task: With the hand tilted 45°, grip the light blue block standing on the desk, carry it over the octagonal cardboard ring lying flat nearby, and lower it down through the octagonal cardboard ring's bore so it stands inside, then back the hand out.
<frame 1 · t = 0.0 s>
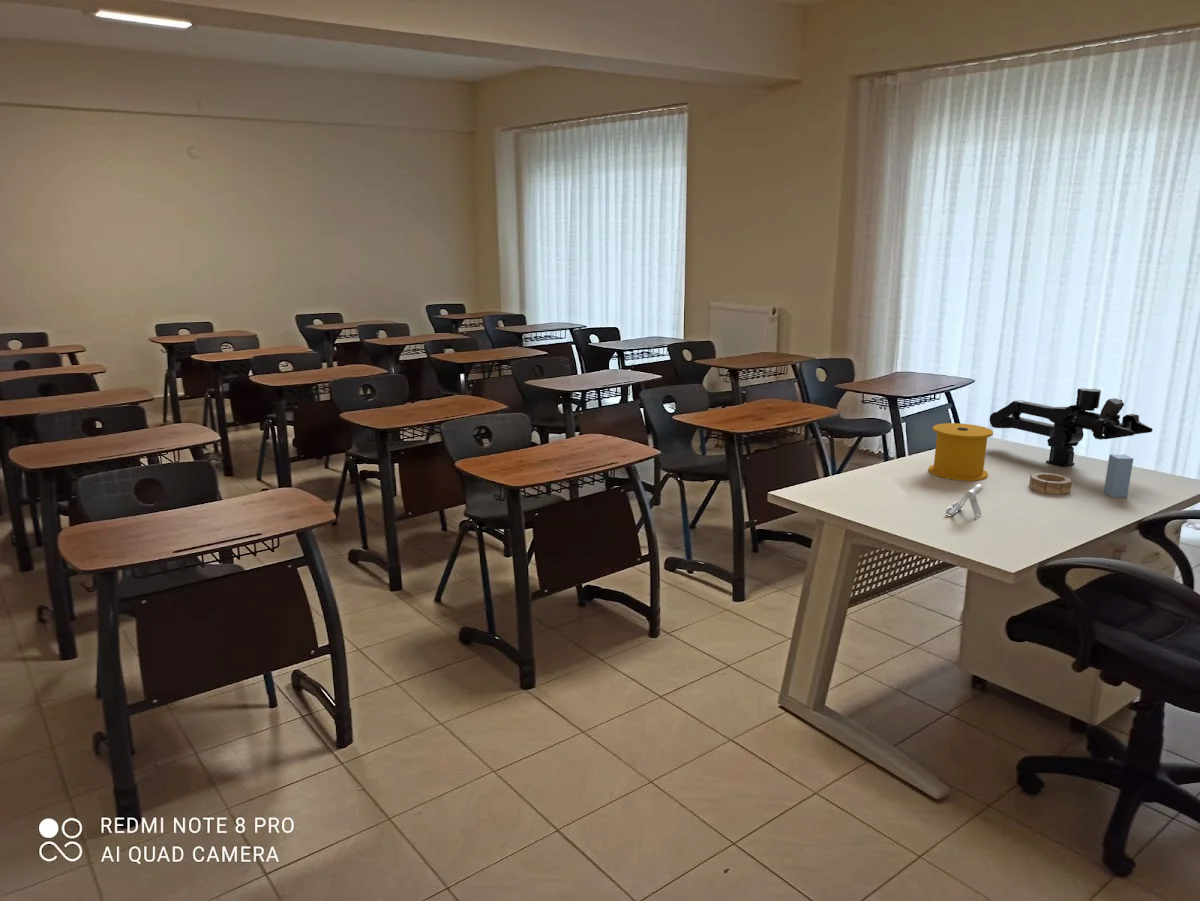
hand: (1143, 432, 261), 17 cm above the table, tool horizontal, fingers open, 9 cm apart
octagonal cardboard ring: (1049, 488, 260), on the table
spool: (957, 473, 276), on the table
light blue block: (1115, 494, 254), on the table
portable electronic device stand: (964, 515, 237), on the table
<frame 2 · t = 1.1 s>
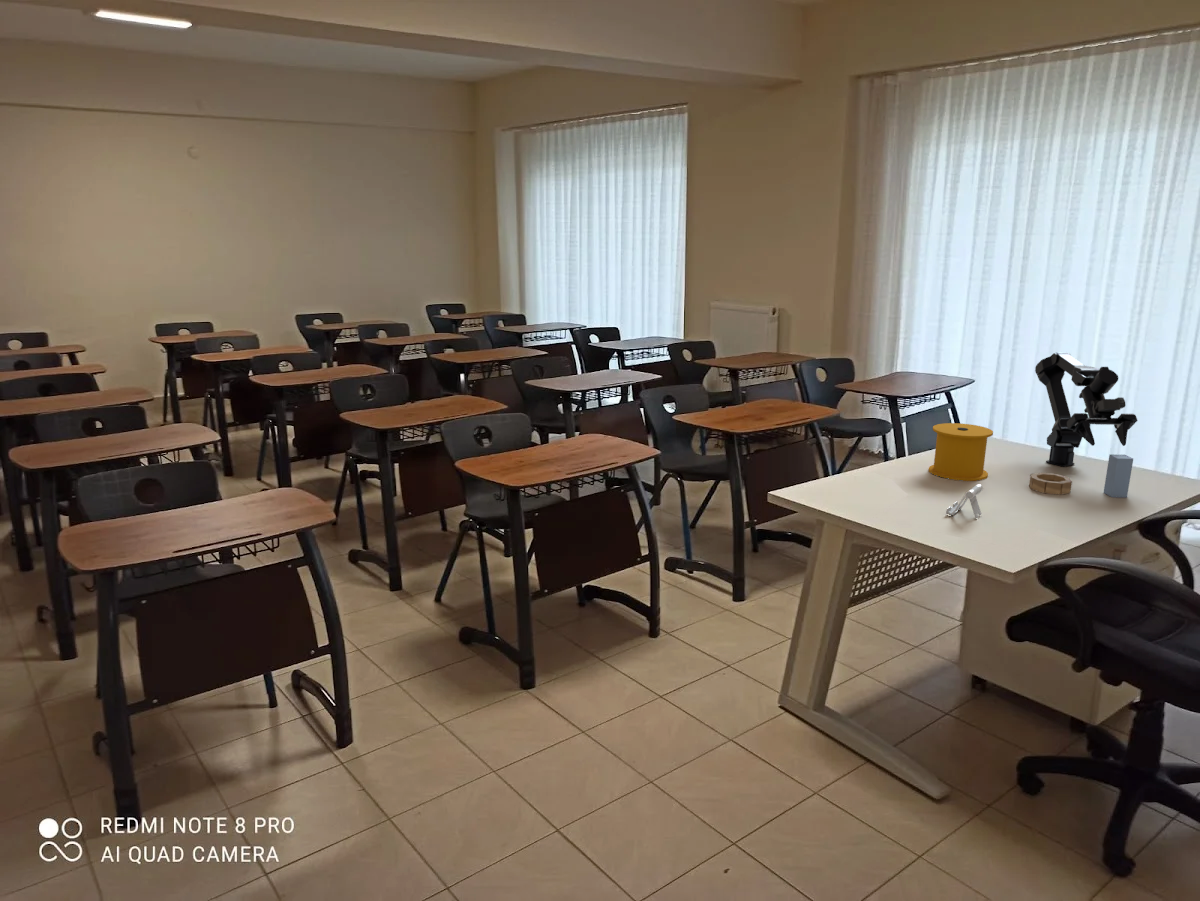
hand: (1109, 445, 257), 14 cm above the table, tool tilted 45°, fingers open, 9 cm apart
nothing on the table moved.
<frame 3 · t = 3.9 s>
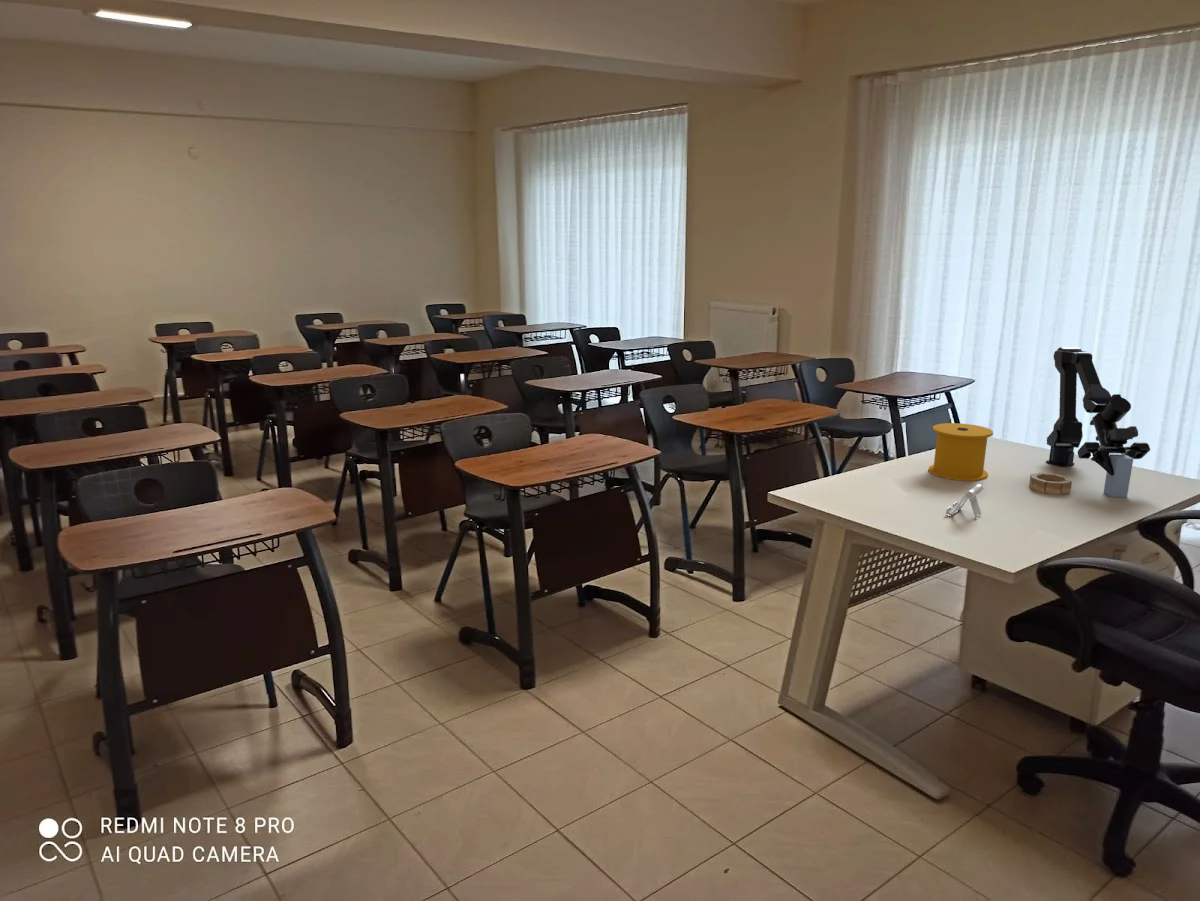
hand: (1121, 475, 251), 7 cm above the table, tool tilted 45°, fingers closed on light blue block, 4 cm apart
light blue block: (1115, 494, 254), on the table, touching gripper
everything else where it was.
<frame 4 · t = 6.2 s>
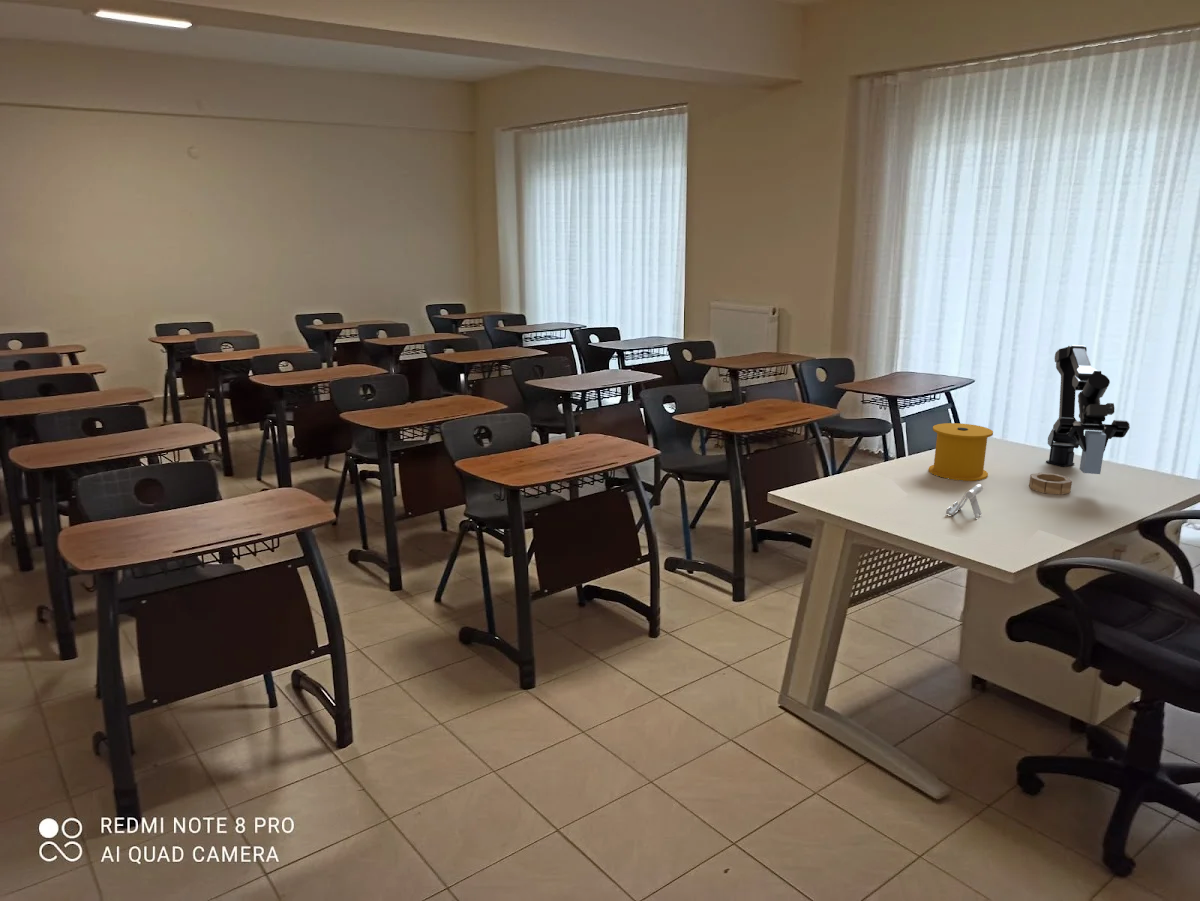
hand: (1094, 451, 251), 13 cm above the table, tool tilted 45°, fingers closed on light blue block, 4 cm apart
light blue block: (1089, 471, 253), point 7 cm above the table, touching gripper
everything else where it was.
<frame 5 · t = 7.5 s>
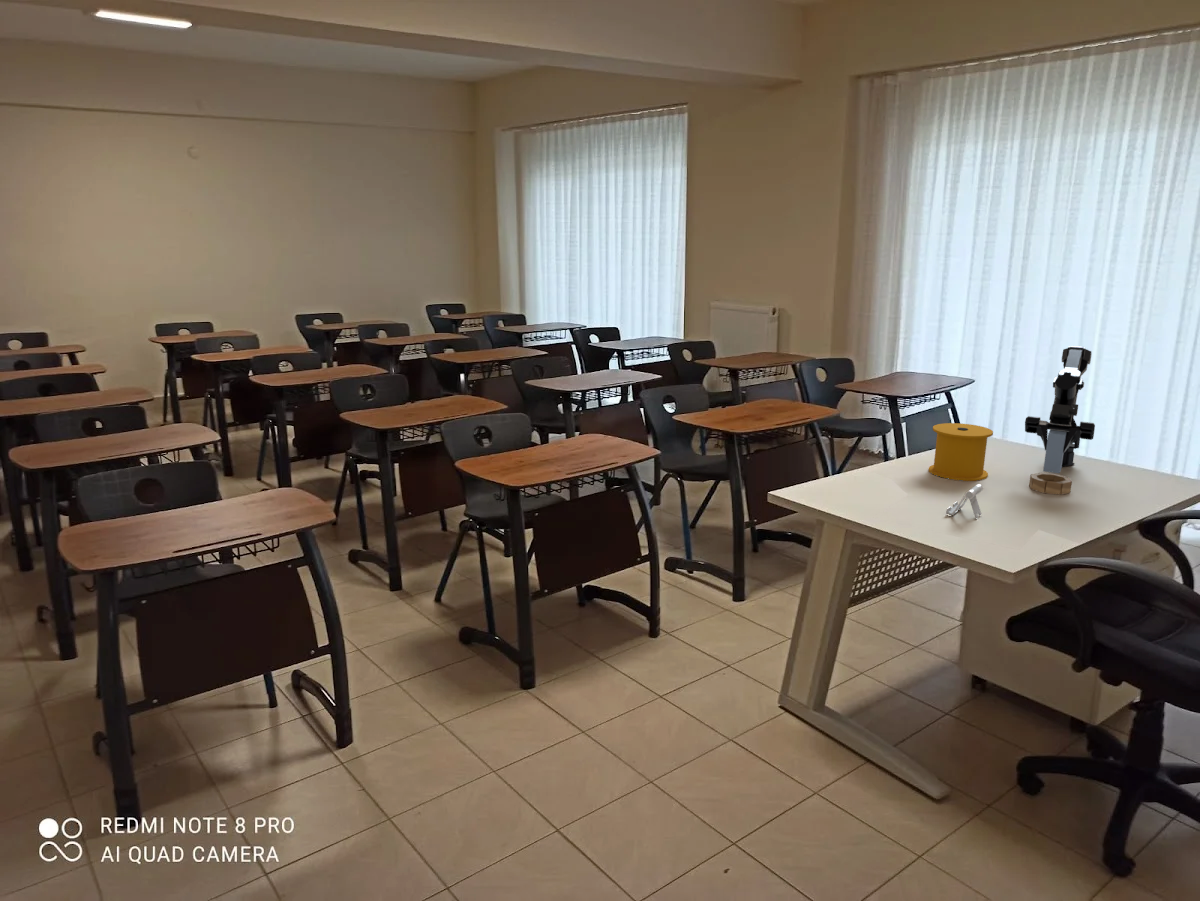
hand: (1054, 450, 255), 12 cm above the table, tool tilted 45°, fingers closed on light blue block, 4 cm apart
light blue block: (1052, 470, 258), point 6 cm above the table, touching gripper
everything else where it was.
when the fingers open (8 cm above the table, at t = 8.7 s): light blue block drops 1 cm, resting in octagonal cardboard ring.
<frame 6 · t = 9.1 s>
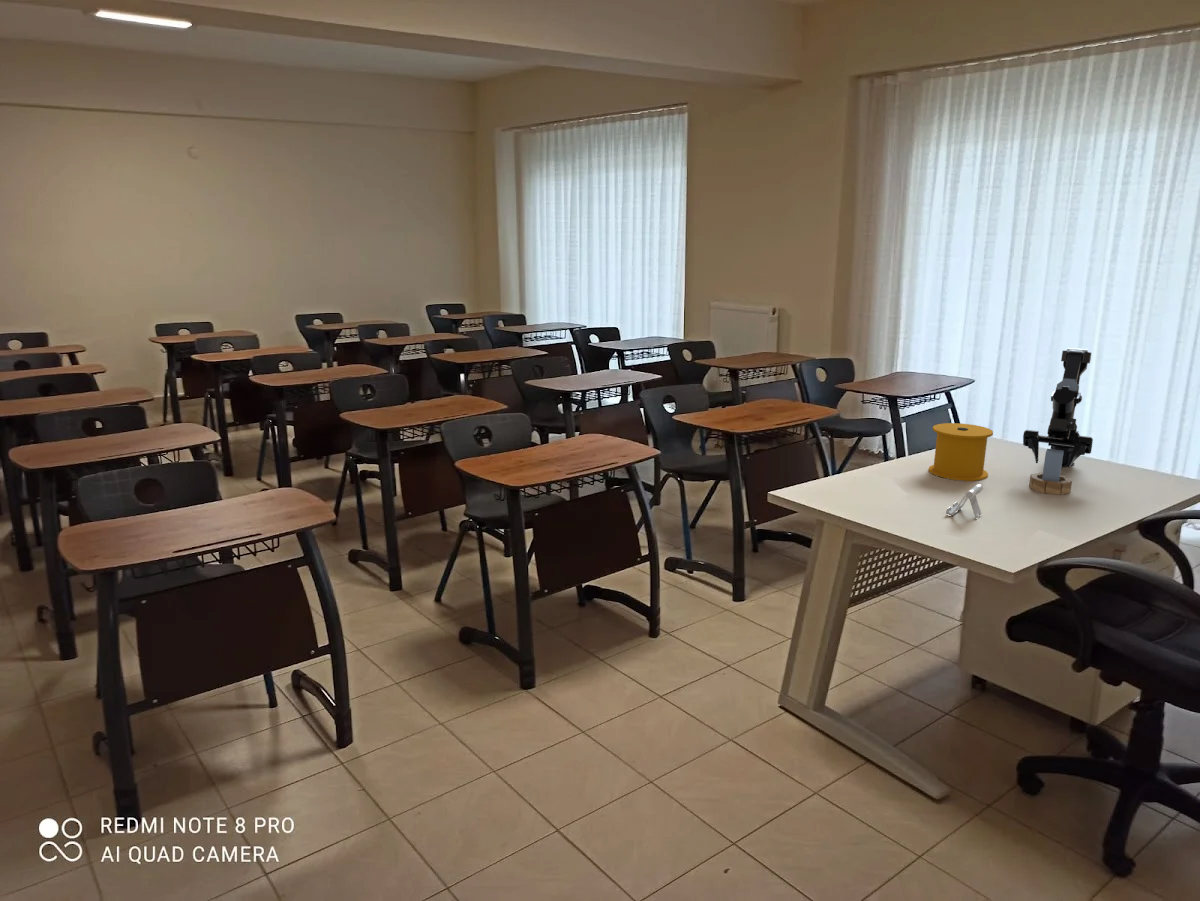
hand: (1052, 464, 256), 8 cm above the table, tool tilted 45°, fingers open, 8 cm apart
light blue block: (1049, 488, 260), resting in octagonal cardboard ring
everything else where it was.
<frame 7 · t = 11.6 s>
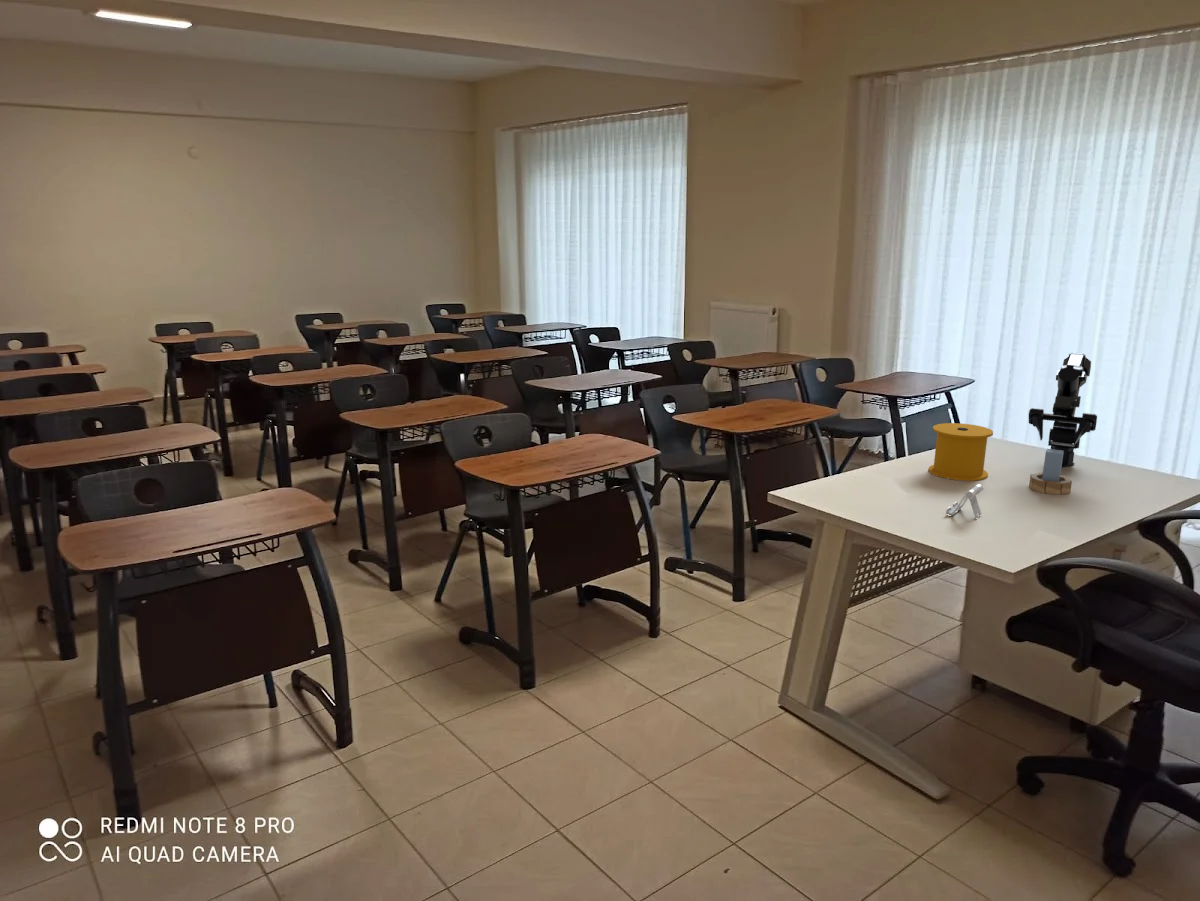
hand: (1057, 441, 261), 14 cm above the table, tool tilted 45°, fingers open, 9 cm apart
nothing on the table moved.
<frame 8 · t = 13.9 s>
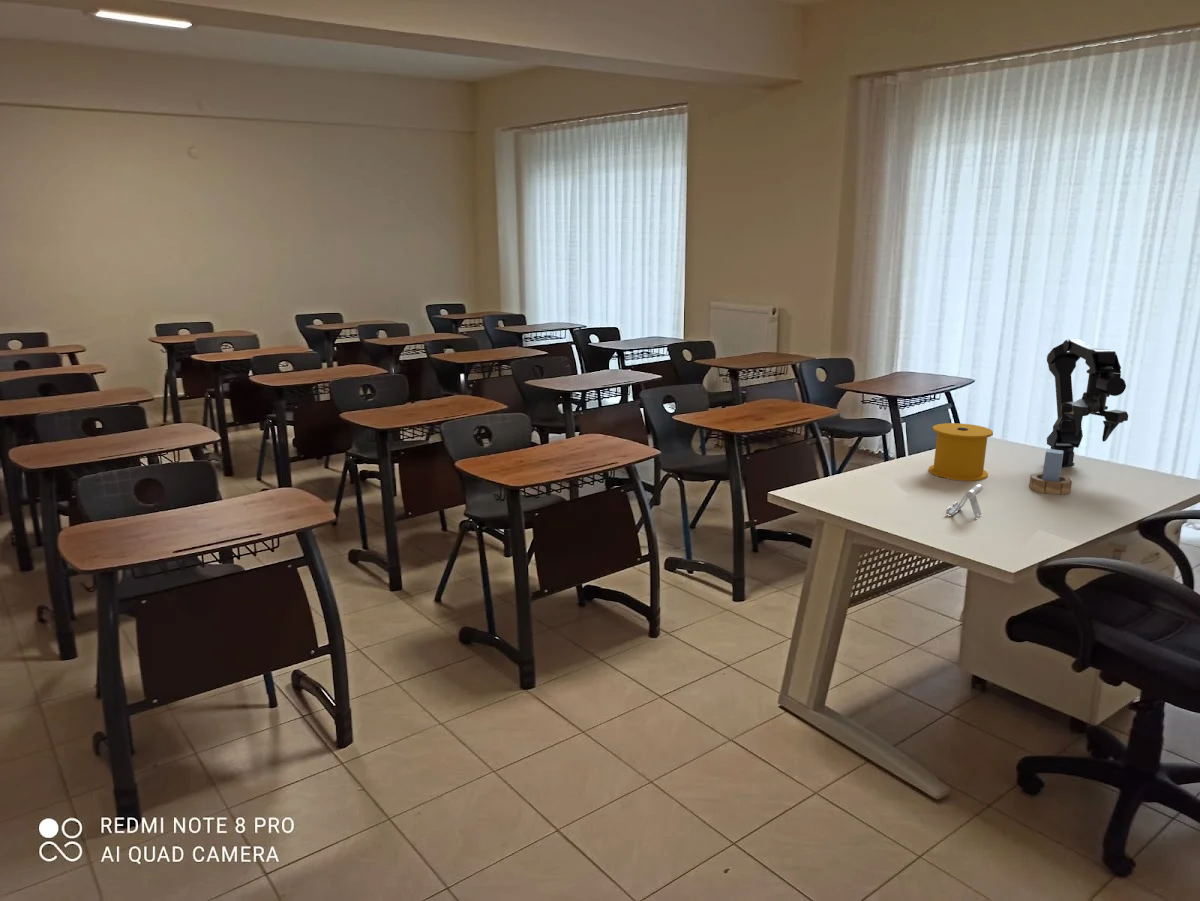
hand: (1089, 438, 268), 13 cm above the table, tool pointing down, fingers open, 9 cm apart
nothing on the table moved.
at the end: light blue block 0.0 cm from the octagonal cardboard ring (horizontally); light blue block tilted 0°; the gripper is holding nothing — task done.
